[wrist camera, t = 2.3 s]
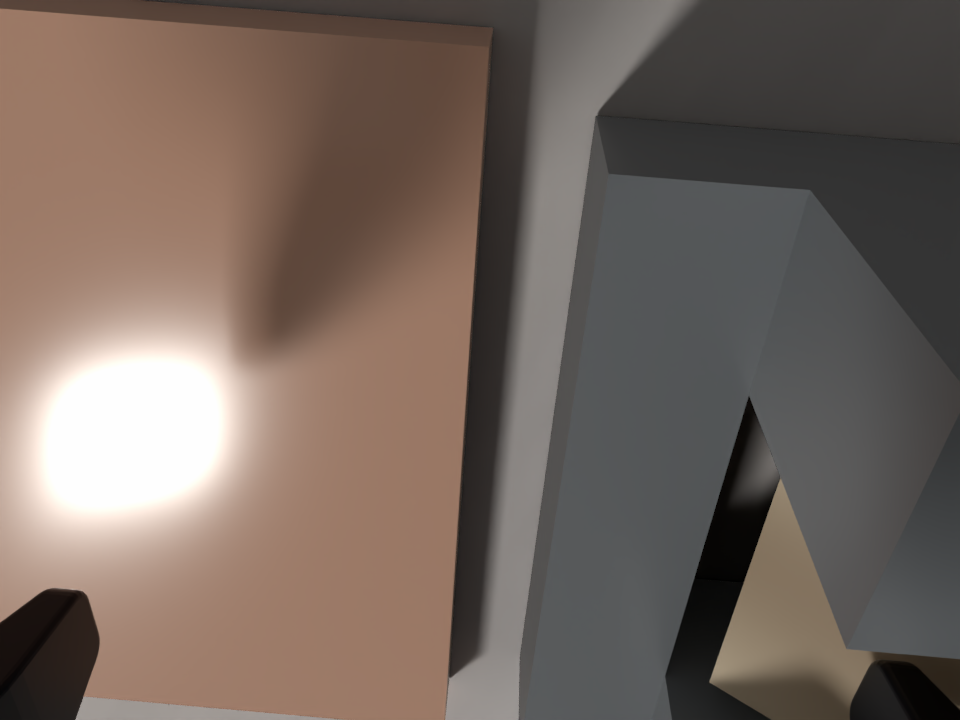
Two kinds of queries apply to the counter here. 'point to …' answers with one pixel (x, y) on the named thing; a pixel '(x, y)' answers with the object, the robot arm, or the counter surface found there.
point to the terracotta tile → (240, 344)
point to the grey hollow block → (722, 400)
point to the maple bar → (798, 636)
